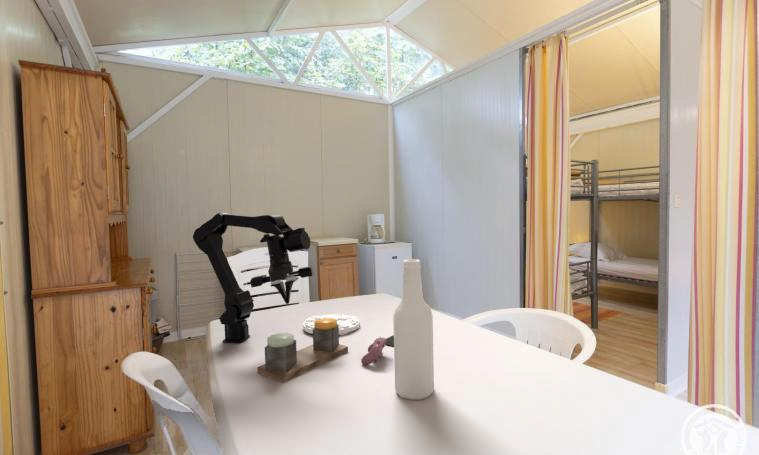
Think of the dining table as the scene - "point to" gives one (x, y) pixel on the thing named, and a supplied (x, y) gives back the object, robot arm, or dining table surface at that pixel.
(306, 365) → the button board
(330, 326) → the orange button
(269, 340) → the pale green rounded piece
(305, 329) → the giant coin
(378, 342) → the video game controller
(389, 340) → the phone
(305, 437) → the dining table surface
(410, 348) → the alcohol
